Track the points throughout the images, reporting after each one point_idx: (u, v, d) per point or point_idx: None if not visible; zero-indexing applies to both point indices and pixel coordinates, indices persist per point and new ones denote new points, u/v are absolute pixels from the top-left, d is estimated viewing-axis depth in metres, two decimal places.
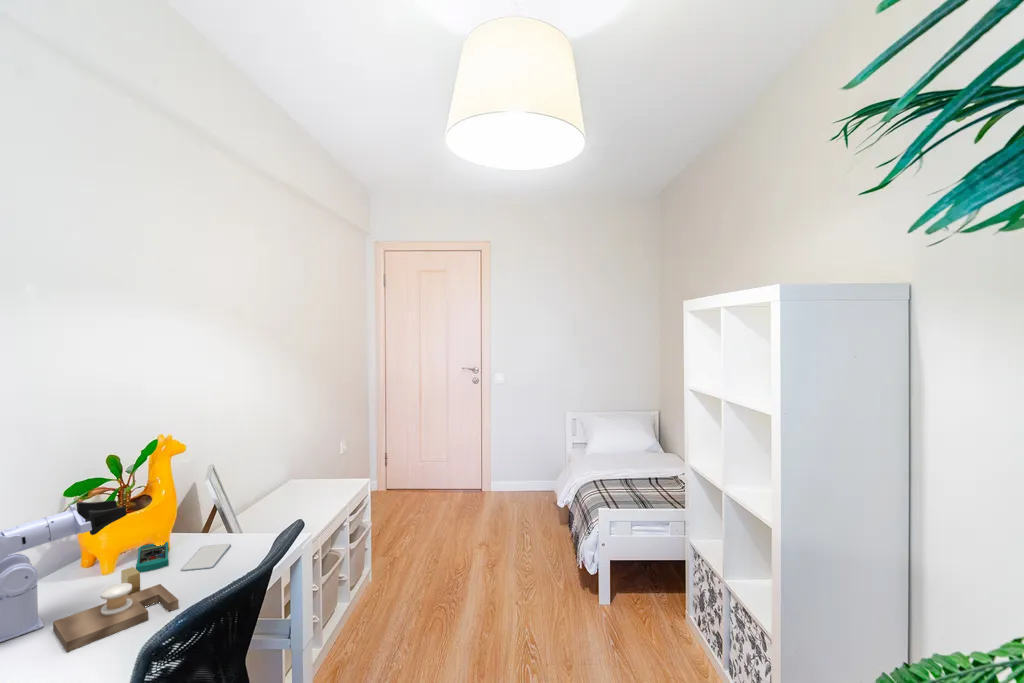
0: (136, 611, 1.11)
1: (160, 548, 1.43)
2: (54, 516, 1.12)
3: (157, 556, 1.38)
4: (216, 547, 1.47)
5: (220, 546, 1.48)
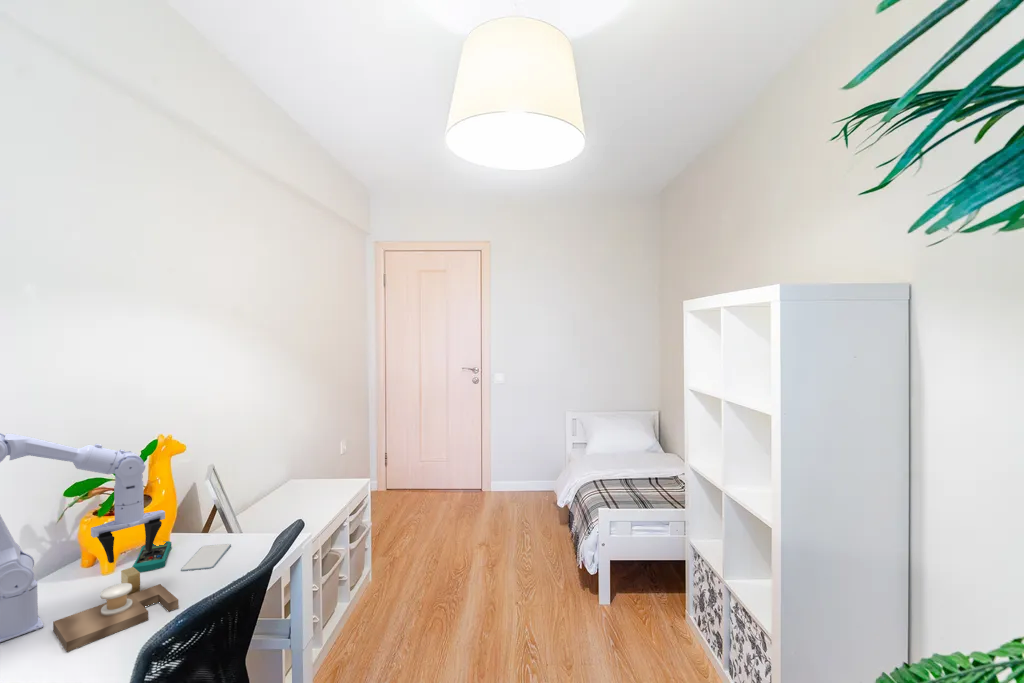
0: (136, 611, 1.11)
1: (161, 548, 1.43)
2: (129, 510, 1.19)
3: (155, 556, 1.38)
4: (216, 547, 1.47)
5: (220, 546, 1.48)
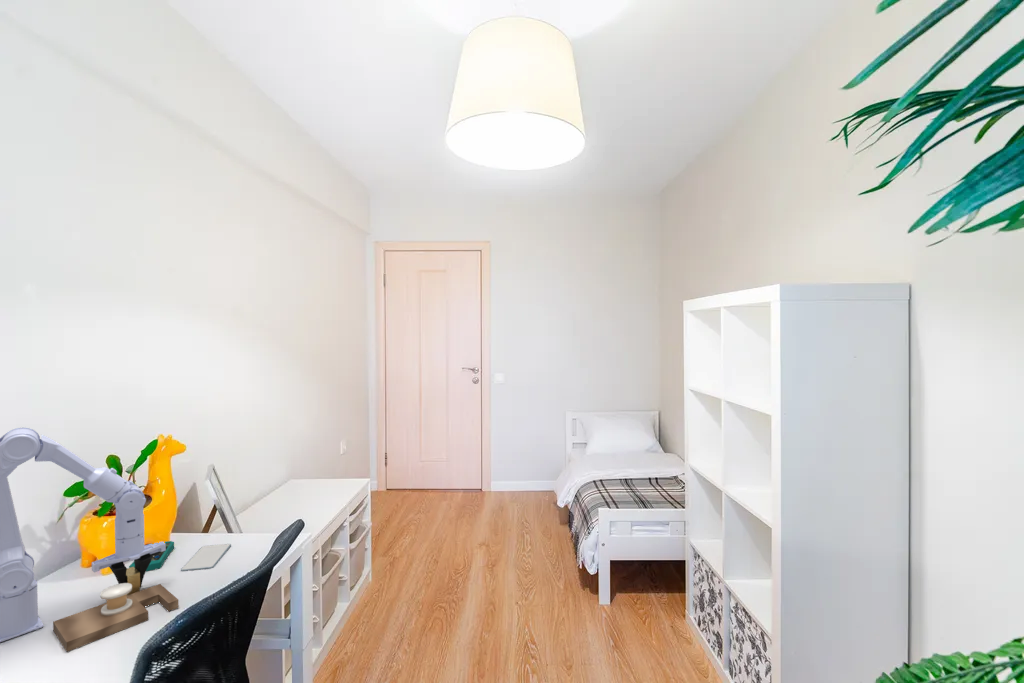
0: (136, 611, 1.11)
1: None
2: (130, 544, 1.19)
3: (153, 557, 1.38)
4: (216, 547, 1.47)
5: (220, 546, 1.48)
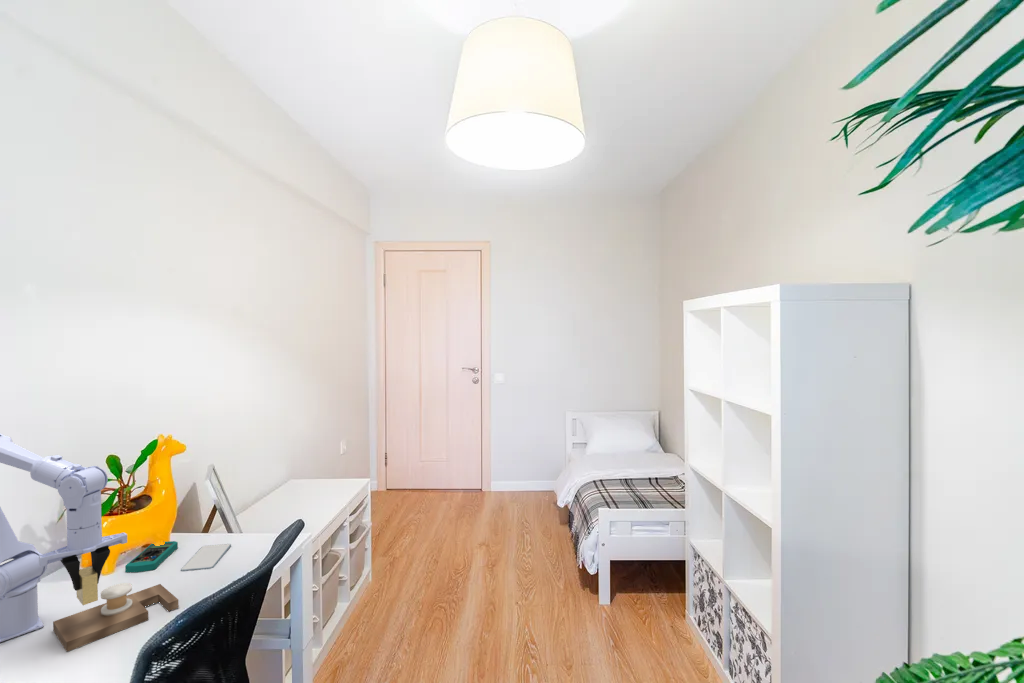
0: (136, 611, 1.11)
1: (163, 548, 1.43)
2: (84, 534, 1.05)
3: (150, 557, 1.37)
4: (216, 547, 1.47)
5: (220, 546, 1.48)
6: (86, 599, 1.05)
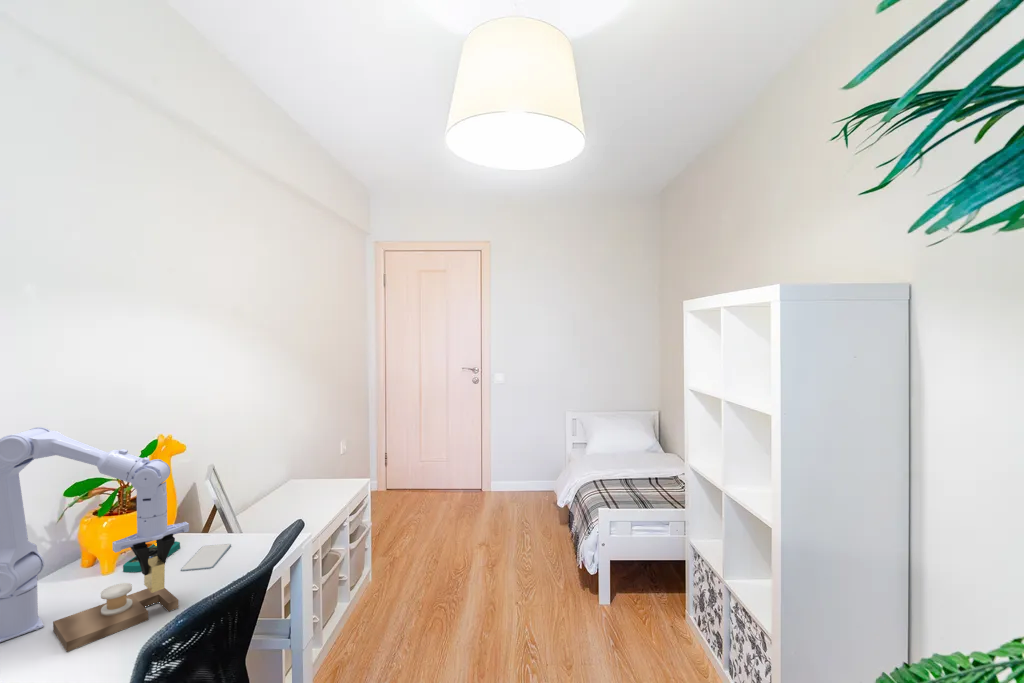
0: (136, 611, 1.11)
1: None
2: (153, 523, 1.12)
3: (148, 557, 1.37)
4: (216, 547, 1.47)
5: (220, 546, 1.48)
6: (154, 587, 1.12)
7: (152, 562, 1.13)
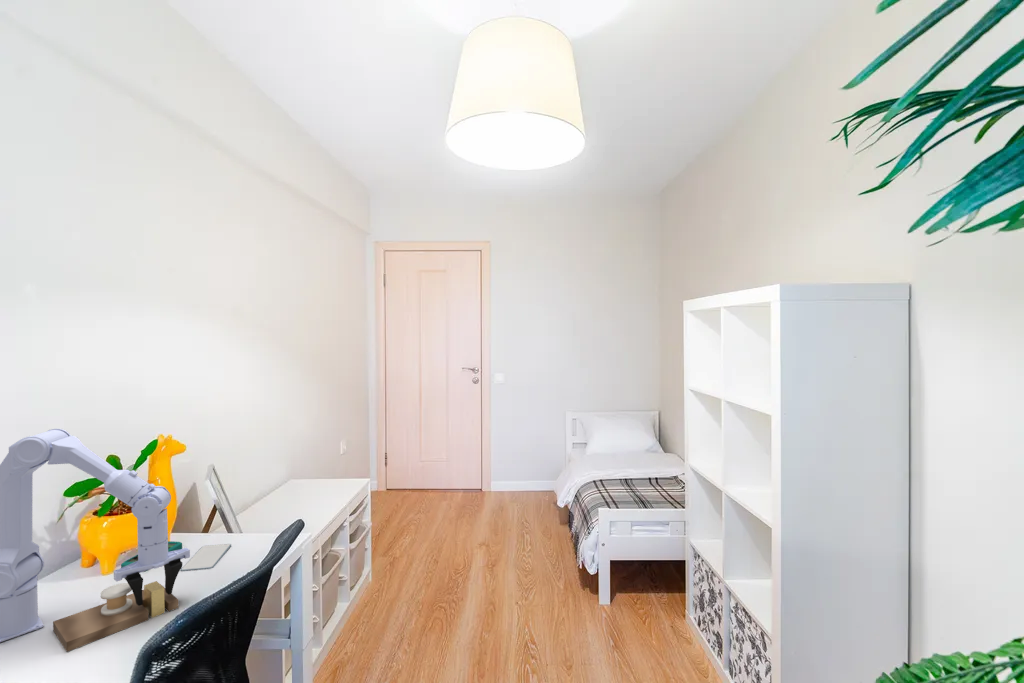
0: (136, 611, 1.11)
1: None
2: (154, 551, 1.12)
3: None
4: (216, 547, 1.47)
5: (220, 546, 1.48)
6: (154, 612, 1.12)
7: (151, 587, 1.14)
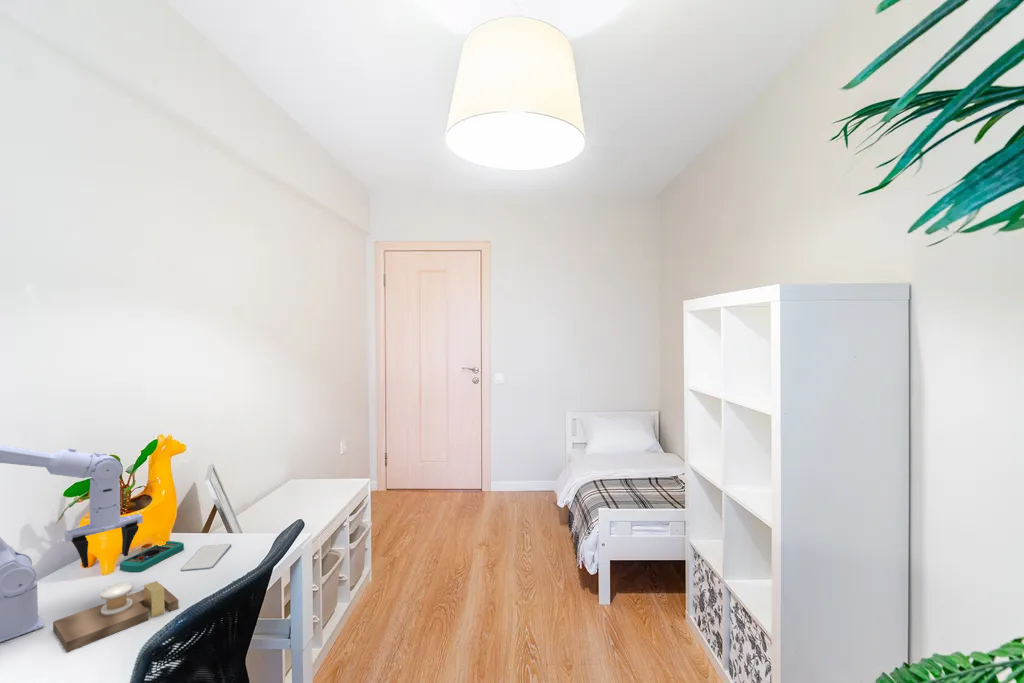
0: (136, 611, 1.11)
1: (164, 549, 1.43)
2: (104, 514, 1.17)
3: (145, 558, 1.37)
4: (216, 547, 1.47)
5: (220, 546, 1.48)
6: (154, 612, 1.12)
7: (151, 587, 1.14)
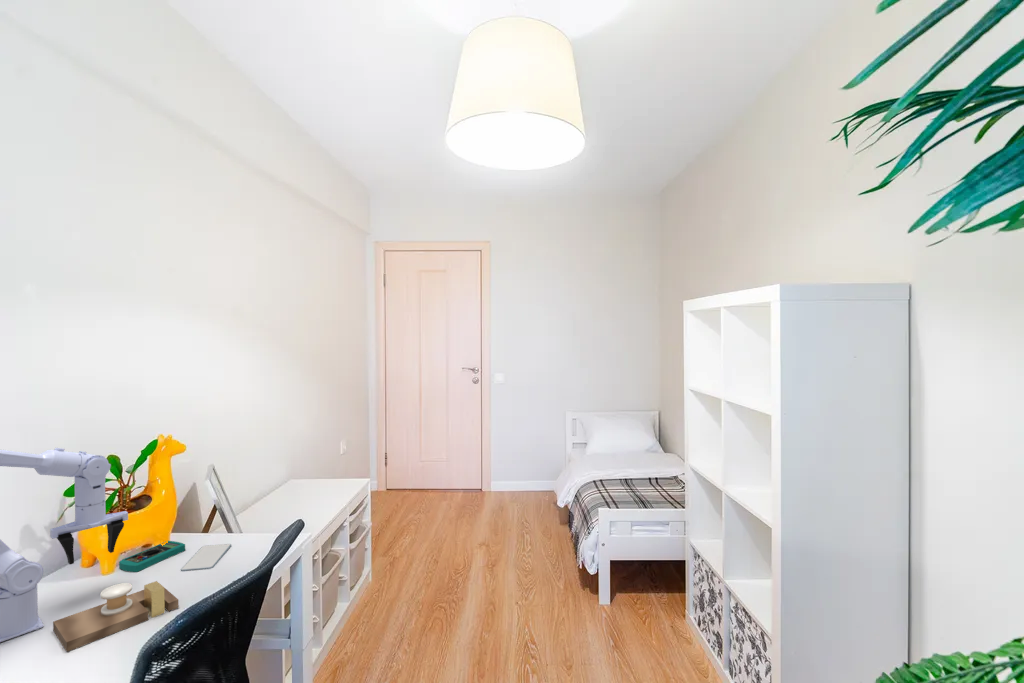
0: (136, 611, 1.11)
1: (165, 549, 1.42)
2: (90, 511, 1.18)
3: (143, 557, 1.37)
4: (217, 547, 1.47)
5: (220, 546, 1.48)
6: (155, 612, 1.12)
7: (152, 587, 1.14)
